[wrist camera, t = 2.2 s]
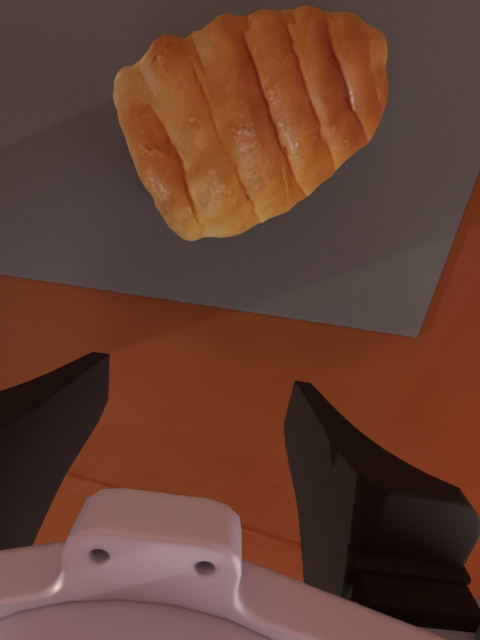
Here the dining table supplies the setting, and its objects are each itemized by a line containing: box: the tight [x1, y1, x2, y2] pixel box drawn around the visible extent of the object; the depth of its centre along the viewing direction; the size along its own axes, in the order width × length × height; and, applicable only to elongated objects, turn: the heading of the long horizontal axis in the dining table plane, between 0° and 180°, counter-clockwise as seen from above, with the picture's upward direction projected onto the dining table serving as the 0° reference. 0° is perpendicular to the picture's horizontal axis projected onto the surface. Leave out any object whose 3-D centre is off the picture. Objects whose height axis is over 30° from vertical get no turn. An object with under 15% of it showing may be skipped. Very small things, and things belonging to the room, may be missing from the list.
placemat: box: [0, 0, 480, 337], centre depth 14 cm, size 20×20×1 cm
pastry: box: [113, 5, 388, 241], centre depth 13 cm, size 9×7×4 cm
